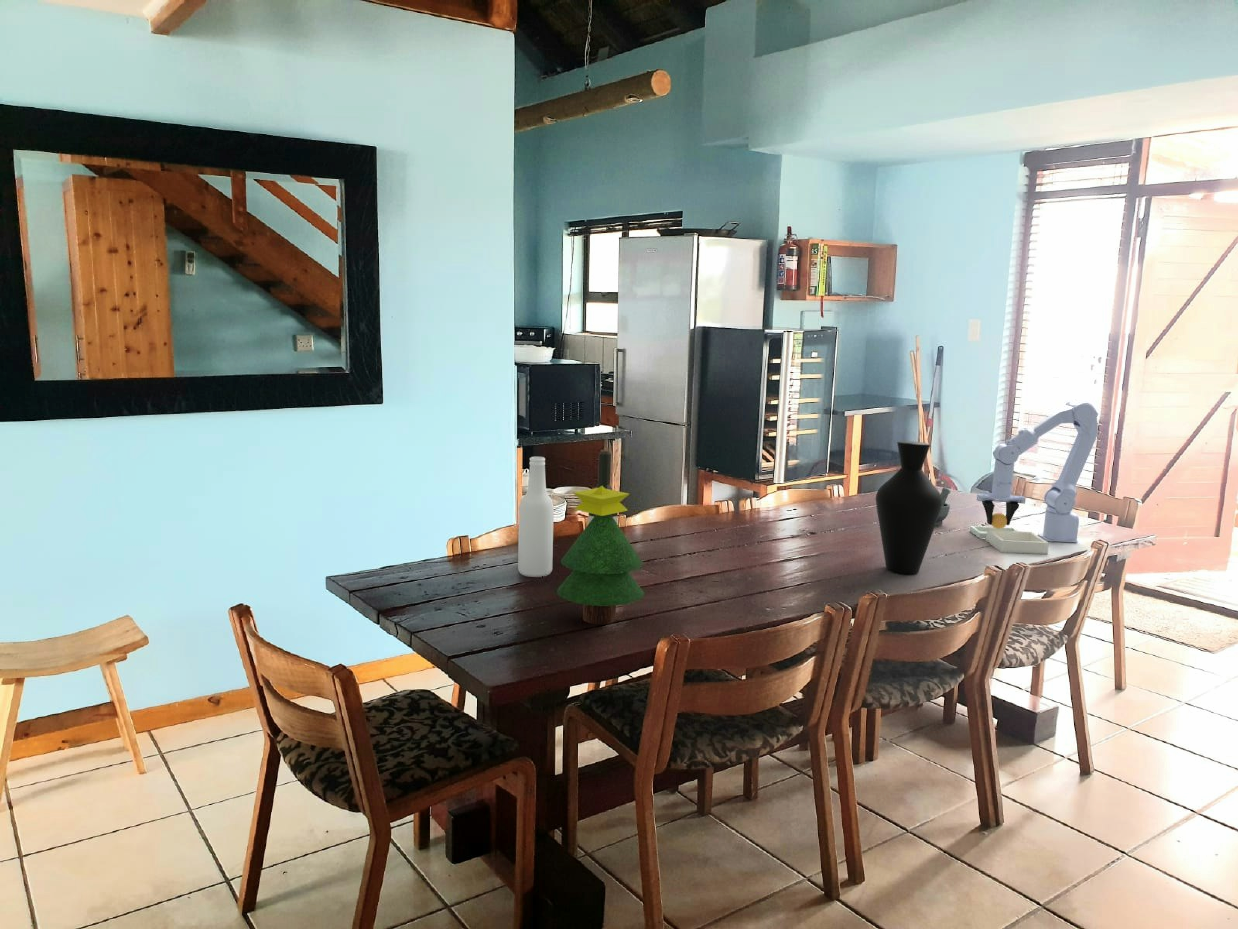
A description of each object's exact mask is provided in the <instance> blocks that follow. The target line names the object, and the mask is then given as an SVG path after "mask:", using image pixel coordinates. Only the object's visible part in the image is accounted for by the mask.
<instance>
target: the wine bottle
mask: <svg viewBox="0 0 1238 929" xmlns="http://www.w3.org/2000/svg"><path fill="white" fill-rule="evenodd" d="M611 461H612V453H610V450H609V449H601V450H600V452H599V453H598V466H597V467H598V469H597V474H598V475H597V484H596V485H595V487H594V488H599V487H601V486H603V487H604V488H605V489H610V490H613V488H612V486H611V465H612V464H611V463H612V462H611ZM587 513H588V512H587ZM595 515H596V514H592V513H588V518H587V525H588V524H589V523H590V522H591V520H592V519H593V518H594V516H595ZM611 515H612V517H613V518H614V520H615V521H616V523H617V524H618V519H619V518H618V516H619V512H618V513H614V514H611Z"/></svg>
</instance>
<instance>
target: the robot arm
mask: <svg viewBox="0 0 1238 929" xmlns="http://www.w3.org/2000/svg"><path fill="white" fill-rule="evenodd" d="M1098 415H1099V413H1098V412H1097V410H1096V408H1095V407H1094V406H1093V404H1091V403H1089V402H1083V401H1080V400H1077V399H1071V400H1069V401H1067V402H1066V403H1065V404H1062V405H1061V406H1059V407H1058V408H1057V409H1056V410H1054V411H1053V412H1052V413H1051V414H1050V415H1048V416H1047V417H1046V418H1044V419H1043V420H1042V421H1040V422H1039V423H1038V424H1037V425H1035V426H1034V427H1032V428H1024V429H1020V430H1018V431H1017V434H1016V435H1014V436H1012V438H1010V439H1005V443H1001V444H1000V443H999V444H998V445H997V446H996V447H995V449H994V450H993V452H992V455H993V458H994V459H995V461H994V469H993V477H992V487H991V493H983V494H981V493H979V494H978V493H977V494H976V499H975V500H976V501H977V502H981V504H982V507H983V509H984V512H985V516H986V523H987V524H988V525H991V524H992V515H994V509H995V506H996V505H995V504H994V502H997V503H998V502H999V503H1005V516H1006V518H1007V524H1006V525H1007V526H1010V525H1011V521H1012V519H1013V516H1014V515H1015V513H1016V512H1017V510H1018V509H1019V508H1020V504H1025V503H1026V496H1023V495H1013V494H1012V489H1013V482H1014V481H1013V480H1014V472H1015V470H1014V469H1015V463H1016V462H1017V461H1018V459H1019V456H1021V455H1023V454H1024V453H1025V452H1027V451H1028V450H1030V449H1032V448H1033V447H1035V446H1036V445H1037V444H1038V441H1039V438H1040V437H1042V436H1044V435H1045V434H1047V433H1048V432H1050V431H1052V430H1053V429H1054V428H1057V427H1058V426H1059V425H1062V424H1073V426H1074V428H1075V430H1076V431H1077V435H1076V437H1075V439H1074V442H1073V445H1072V446H1071V448H1070V452H1069V453H1068V456H1067V458H1066V460H1065V462H1064V465H1063V468H1062V470H1061V471H1060V472H1061V473H1059V474H1060V475H1059V476H1058V479H1056V481H1055V482H1053V483H1052V485H1051V487H1050V488H1049V489H1048V490H1047V491H1046V492H1045V494H1044V496H1043V497H1044V498H1043V499H1044V503H1045V504H1046V505H1047V506H1046V508H1045V515H1044V523H1043V532H1042V533H1038V534H1037V536H1039V537H1040V538H1042V539H1043V540H1045V541H1047V542H1060V543H1061V542H1062V543H1064V542H1065V543H1079V542H1078V532H1079V527H1080V526H1079V525H1080V518H1079V515H1078V513H1076V512H1073V510H1074V508H1075V506H1076V495H1077V487H1076V486H1077V484H1078V482H1079V478H1080V476H1081V474H1082V472H1083V469H1084V467H1085V465H1086V463H1087V460H1088V458H1089V456H1090V454H1091V452H1092V449H1093V447H1094V444H1095V442H1096V439H1097V437H1098V435H1099V425H1098ZM1019 503H1020V504H1019Z"/></svg>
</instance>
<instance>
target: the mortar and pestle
mask: <svg viewBox="0 0 1238 929" xmlns="http://www.w3.org/2000/svg"><path fill="white" fill-rule="evenodd" d="M950 493H951V490H950V489H949V488H946V487H942V488H941V493H940V495H941V497H942V507H941V510H940V513H939V516H938V519H937V522H936V525H935V527H942V526H943V525H942V524H943V523H944V522H943V521H945V519H946V518H947V517H948V515H949V512H950V507H951V504H949V503H947V500H948V496H949V494H950Z"/></svg>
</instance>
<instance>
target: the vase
mask: <svg viewBox="0 0 1238 929" xmlns="http://www.w3.org/2000/svg"><path fill="white" fill-rule="evenodd" d="M896 443H897V449H898V450H897V451H898V455H899V456H898V457H899V462H900V468H899V470H898V471H896V473H895V474H894V475H892V476H891V477H890V478H889V479H888V480H887V481H885V482H884V483H883V484H882V485H881V486H880V487H879V488H878V490H877V492H876V495H875V504H876V512H877V513H876V514H877V518H878V519H877V520H878V524H879V525H878V526H879V530H880V531H879V532H880V537H881V542H882V544H881V545H882V550H883V556H884V562H885V567H886V568H885V569H886V571H887V572H889V571H890V573H892V572H893V573H892V574H896V573H897V574H896V575H903V576H910V575H911V576H913V575H918V574H919V572H920V569H921V566H922V563H923V561H924V557H925V556H926V553H927V552H926V551H927V550H928V546H929V545H930V541H931V539H932V535H933V532H934V530H935V528H936V526H935V525H936V522H937V519H938V516H939V513H940V510H941V507H942V497H941V495H940V494H941V493H940V491H939V490H938V489H937V487H936V486H935V485H934V484H933V483H932V481H931V480H930V479H929V478H928V476H927V475H926V473H925V472H924V471H923V467H924V464H925V461H926V458H927V456H928V452H929V450H930V447H931V444H930V443H929V442H928V443H927V442H924V441H923V442H922V441H914V440H913V441H912V440H911V441H910V440H905V441H904V440H903V441H902V440H901V441H897V442H896ZM917 573H918V574H917Z"/></svg>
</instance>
